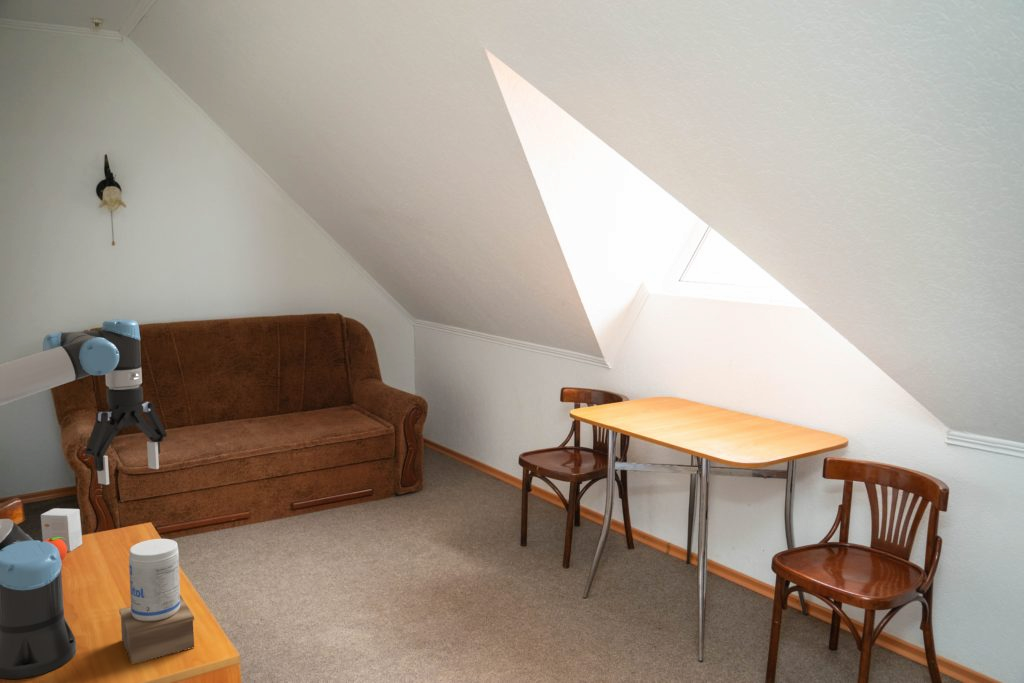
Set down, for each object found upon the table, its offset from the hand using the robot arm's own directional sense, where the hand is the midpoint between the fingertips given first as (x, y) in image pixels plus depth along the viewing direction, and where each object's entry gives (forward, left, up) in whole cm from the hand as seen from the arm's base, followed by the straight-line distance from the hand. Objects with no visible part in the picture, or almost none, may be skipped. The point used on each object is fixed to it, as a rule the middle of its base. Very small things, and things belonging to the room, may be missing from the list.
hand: (129, 475), depth 185 cm
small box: (+14, +46, -31) cm, 57 cm away
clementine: (+6, +38, -31) cm, 49 cm away
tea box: (-13, -22, -31) cm, 40 cm away
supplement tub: (-12, -22, -24) cm, 34 cm away
